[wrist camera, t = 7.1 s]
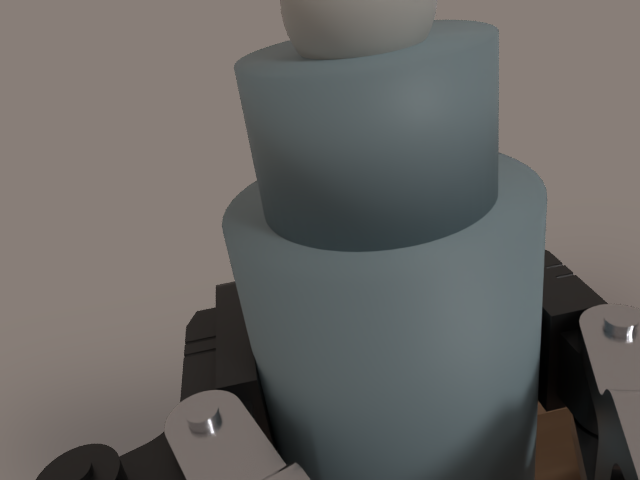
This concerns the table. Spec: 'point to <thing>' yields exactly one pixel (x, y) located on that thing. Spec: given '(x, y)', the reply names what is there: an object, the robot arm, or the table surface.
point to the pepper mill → (388, 247)
